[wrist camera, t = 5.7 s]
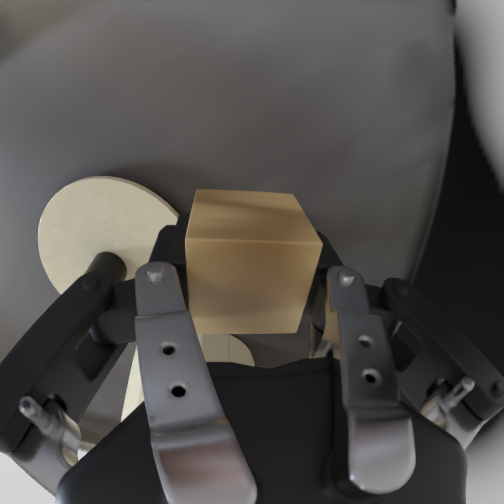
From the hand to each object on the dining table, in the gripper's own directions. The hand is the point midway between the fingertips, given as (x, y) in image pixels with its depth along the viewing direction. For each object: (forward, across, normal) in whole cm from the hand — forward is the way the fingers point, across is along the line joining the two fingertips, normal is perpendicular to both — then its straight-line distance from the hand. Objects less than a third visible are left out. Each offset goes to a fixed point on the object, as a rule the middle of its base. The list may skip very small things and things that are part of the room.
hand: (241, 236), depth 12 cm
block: (0, 0, 0) cm, 0 cm away
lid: (+4, +8, +5) cm, 11 cm away
